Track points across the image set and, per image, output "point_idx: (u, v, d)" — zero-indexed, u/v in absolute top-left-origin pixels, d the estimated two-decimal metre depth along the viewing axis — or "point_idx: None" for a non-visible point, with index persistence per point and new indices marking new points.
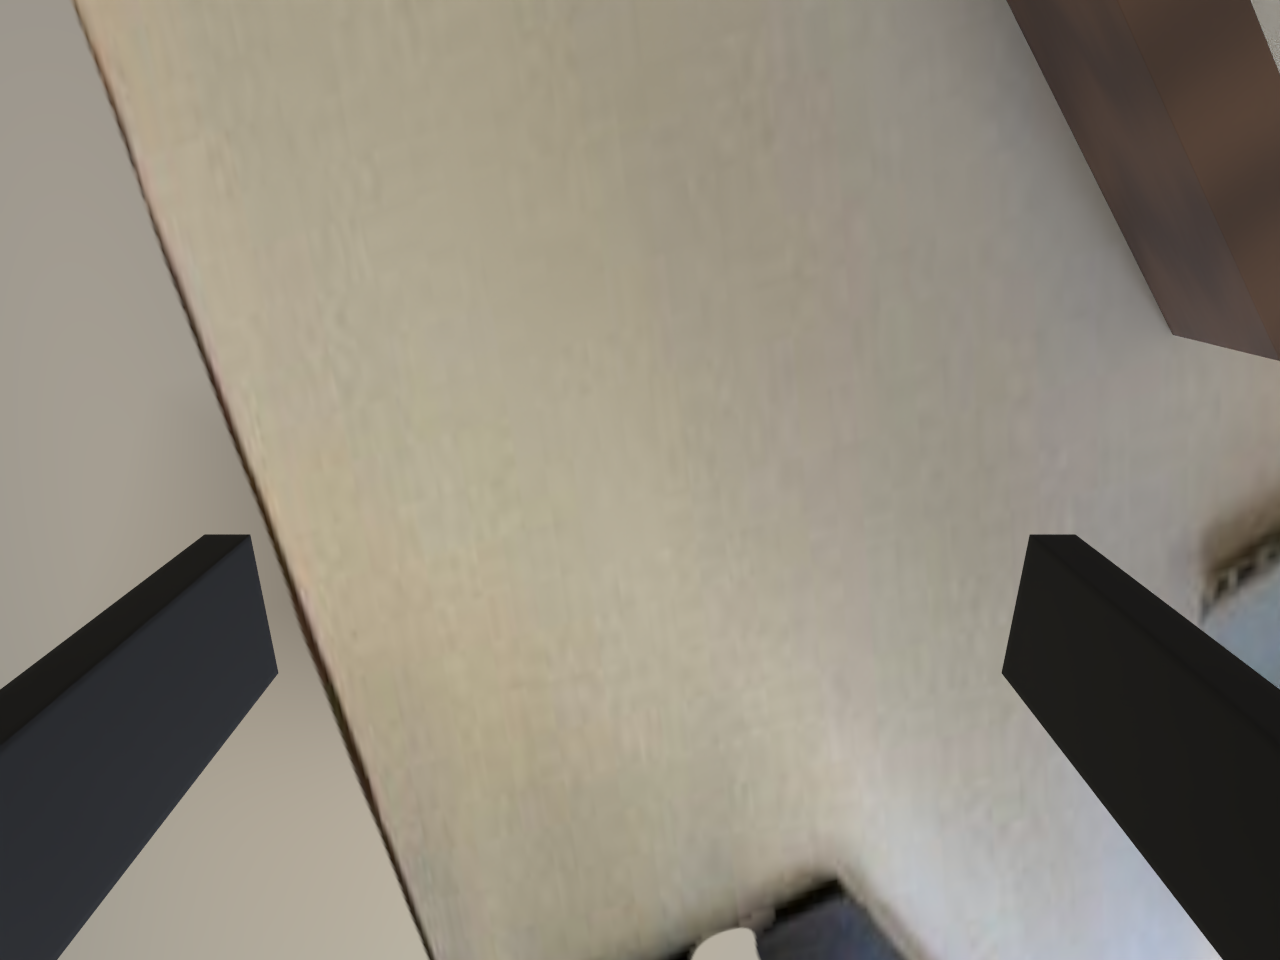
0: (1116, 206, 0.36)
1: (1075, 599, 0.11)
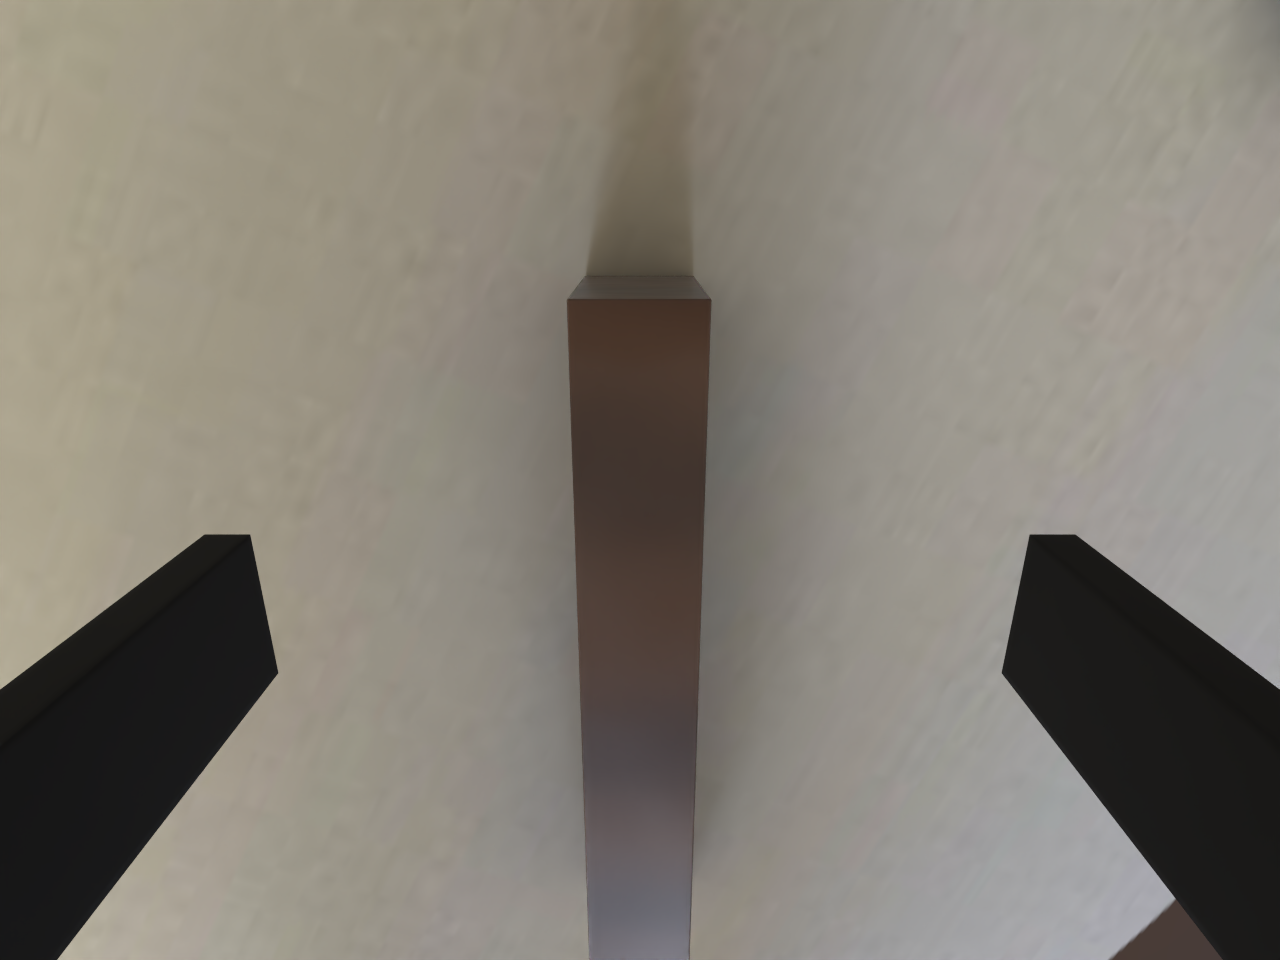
0: None
1: (1075, 599, 0.11)
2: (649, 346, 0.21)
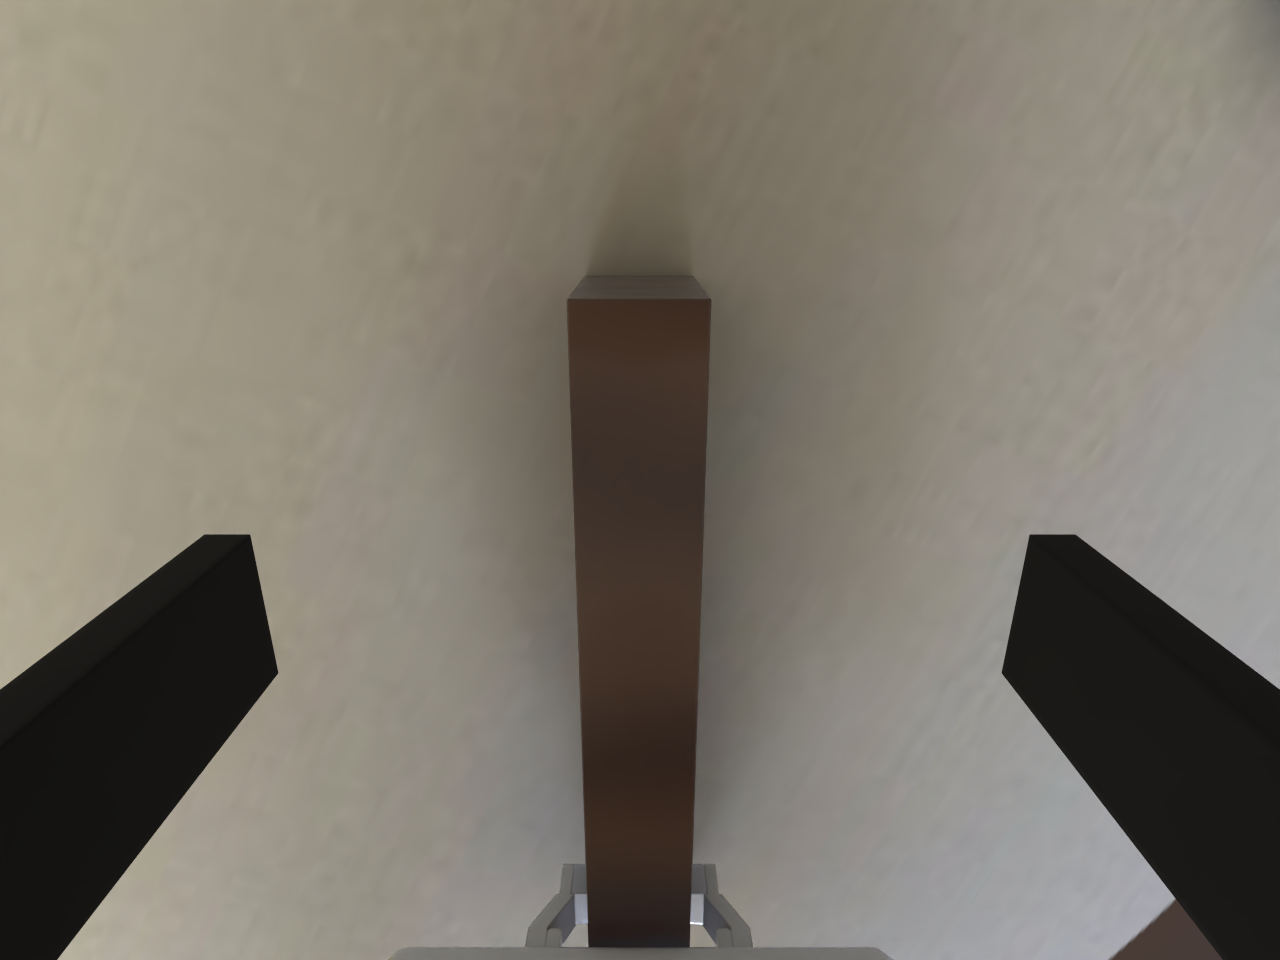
0: None
1: (1075, 599, 0.11)
2: (649, 346, 0.21)
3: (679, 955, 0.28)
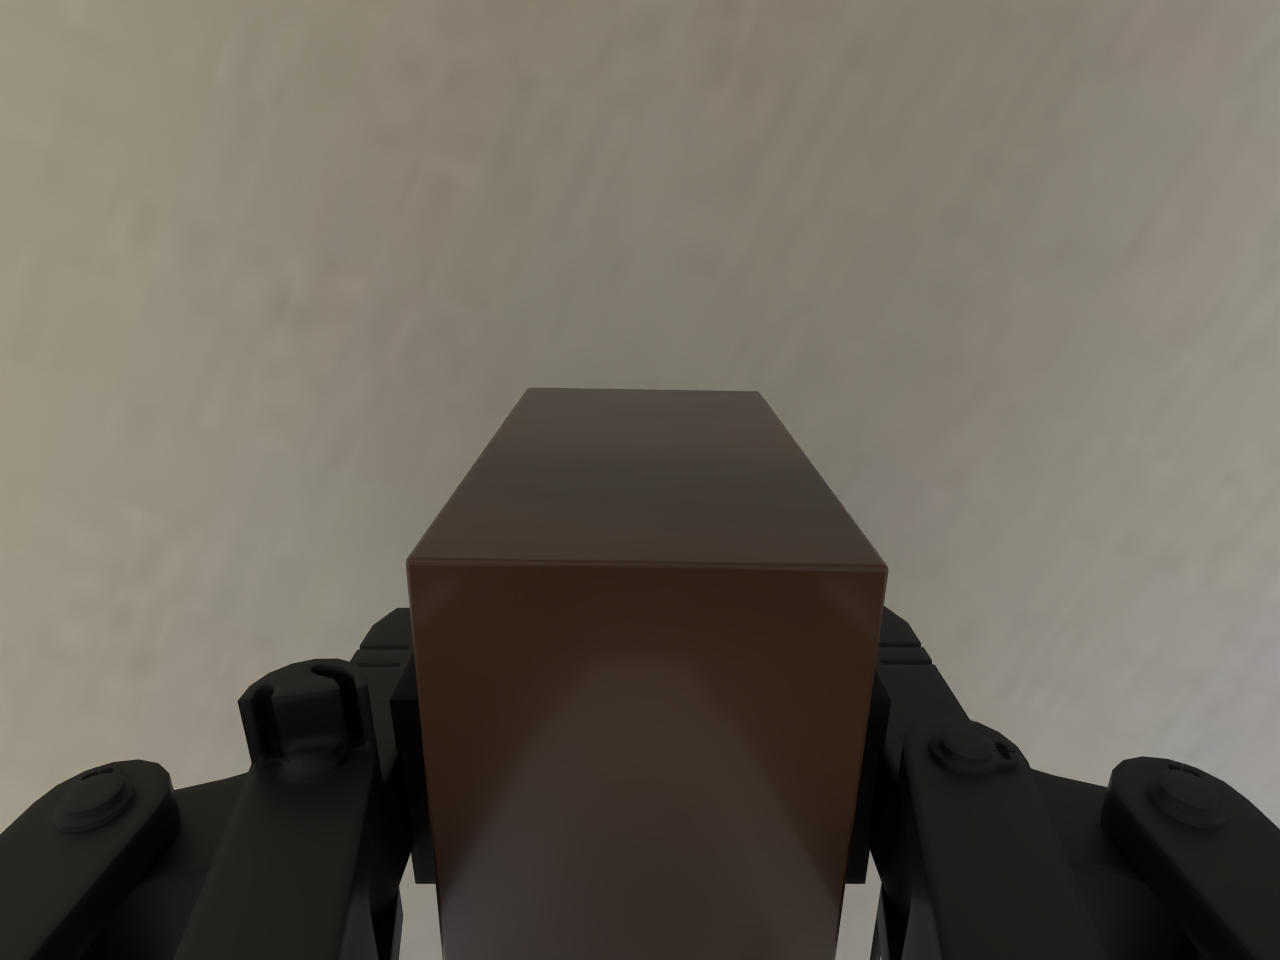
0: None
1: None
2: (679, 701, 0.06)
3: None
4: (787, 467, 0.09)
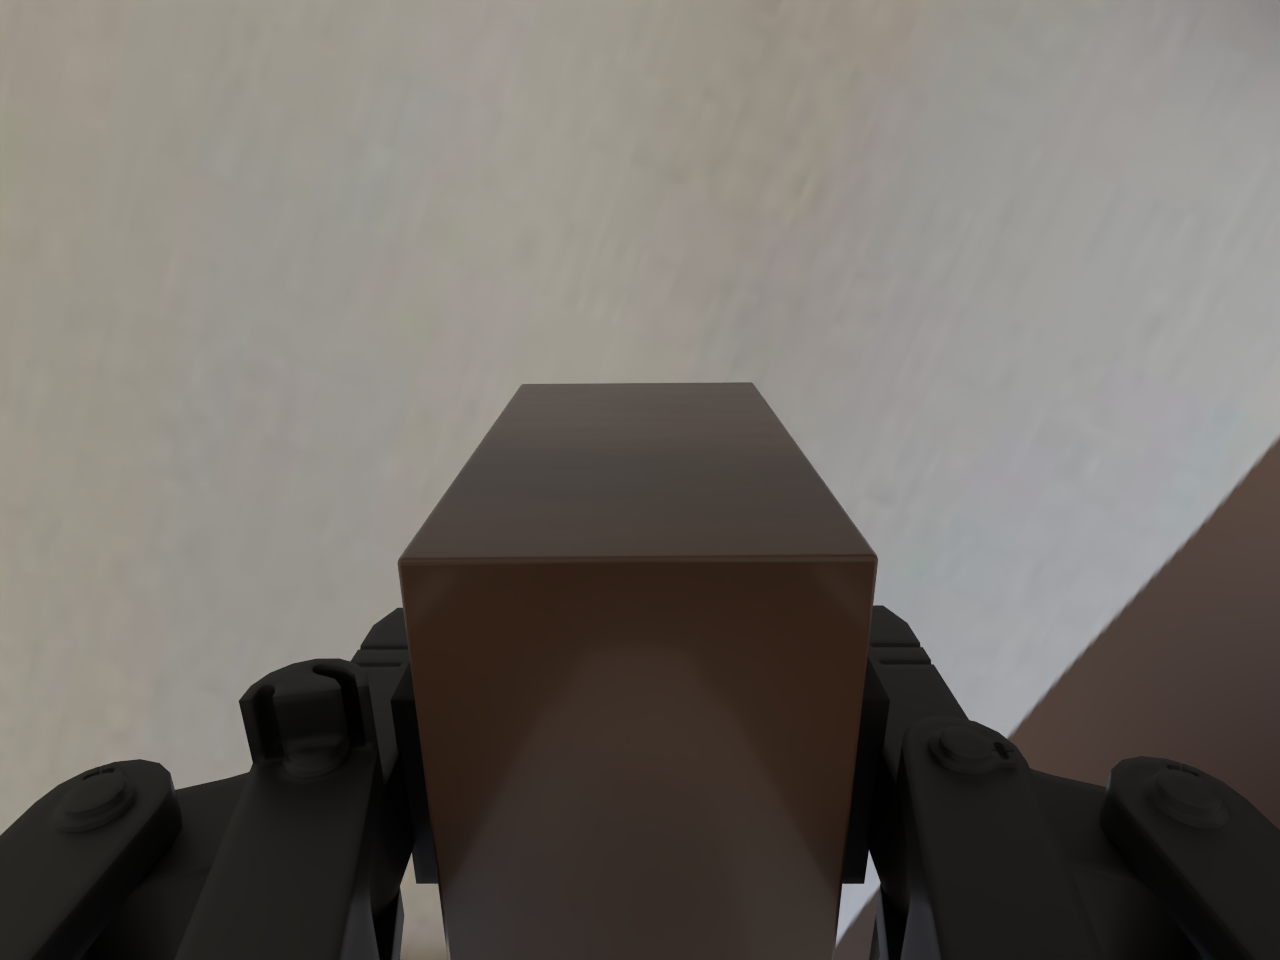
0: None
1: None
2: (672, 694, 0.07)
3: None
4: (779, 458, 0.09)
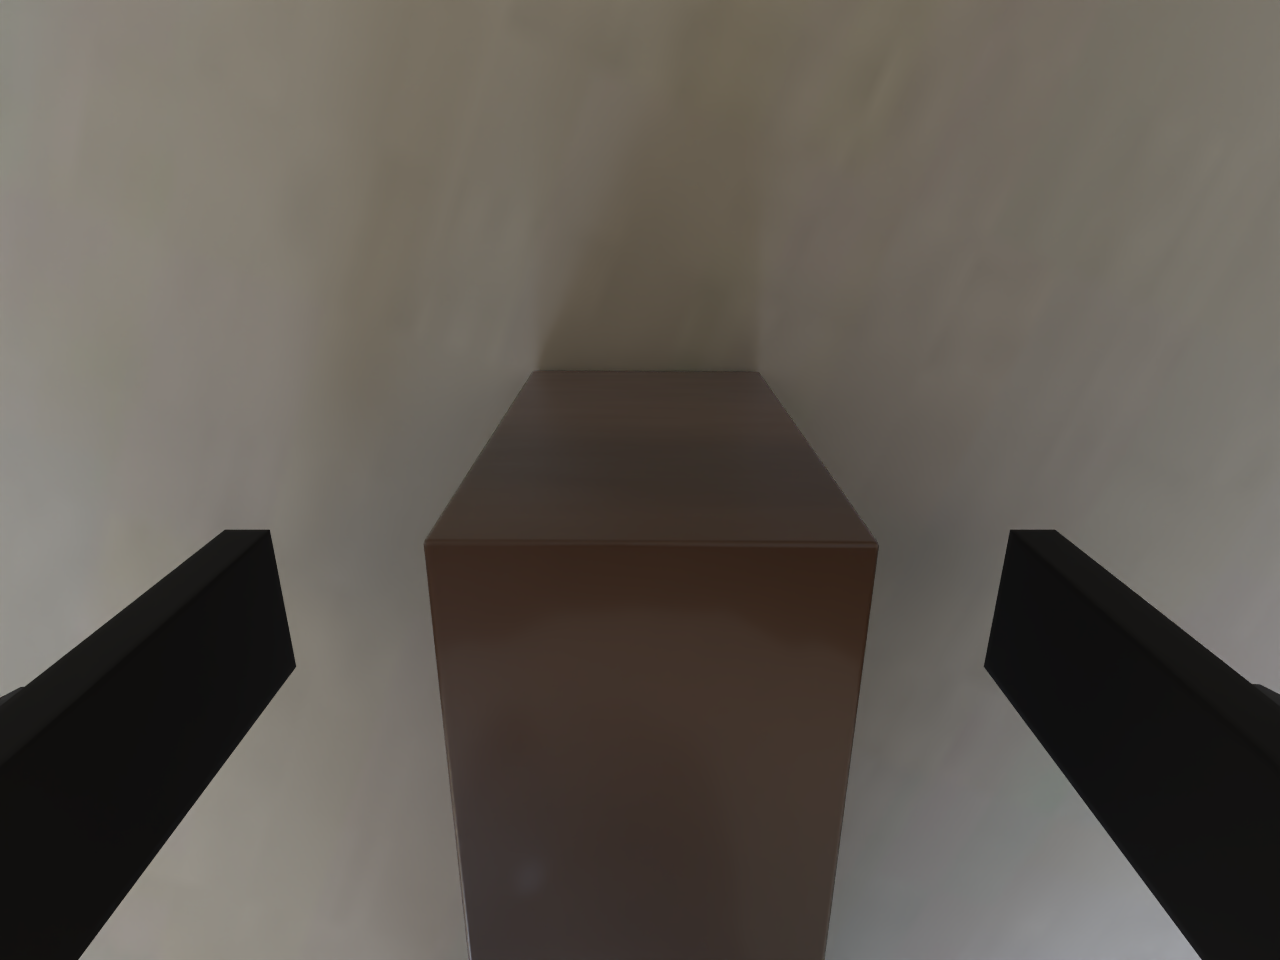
0: None
1: (1052, 593, 0.11)
2: (682, 670, 0.07)
3: None
4: (785, 447, 0.09)
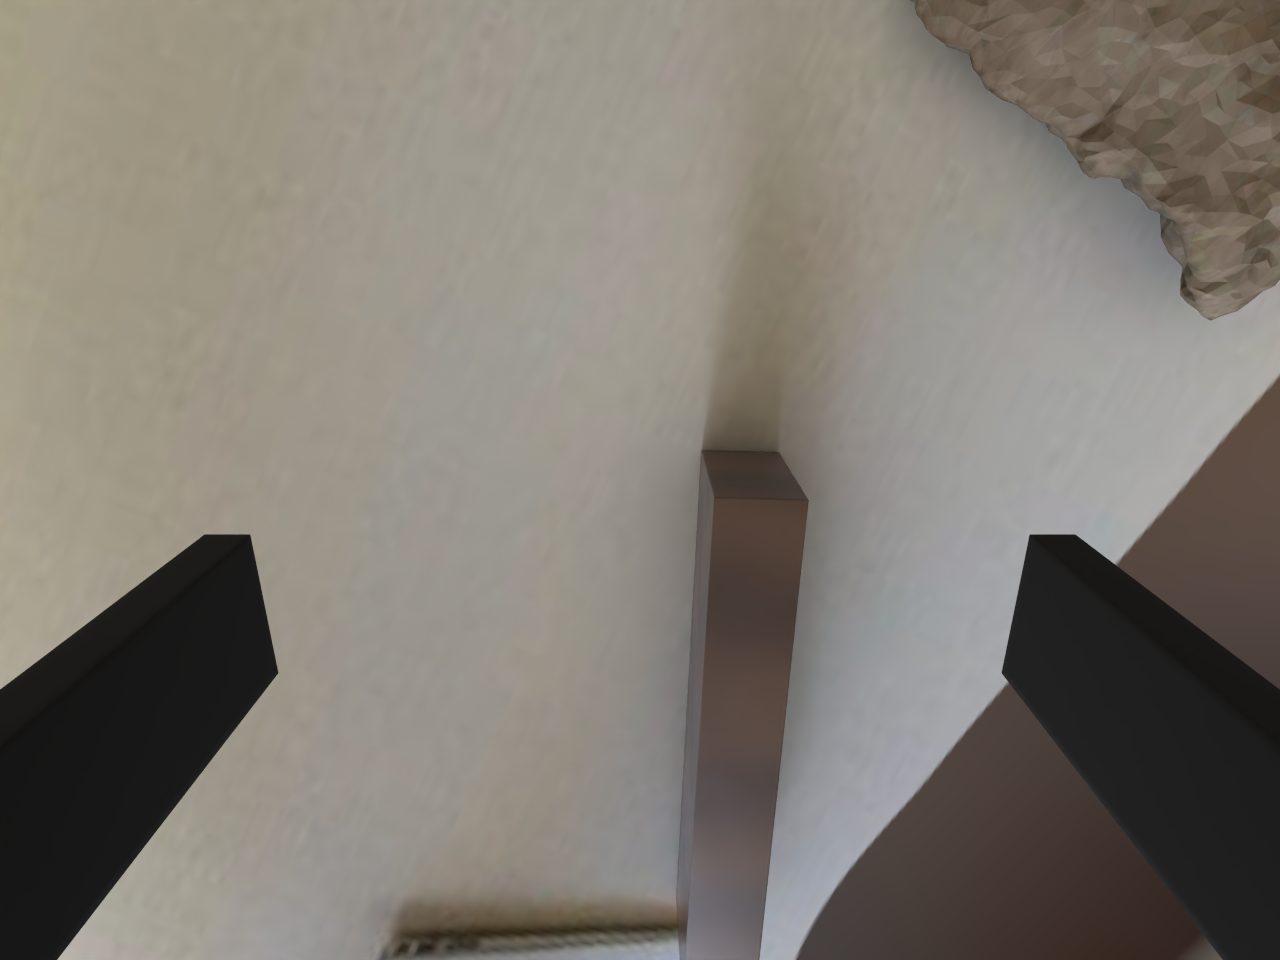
0: (682, 805, 0.44)
1: (1074, 599, 0.11)
2: (766, 527, 0.32)
3: None
4: (788, 479, 0.34)
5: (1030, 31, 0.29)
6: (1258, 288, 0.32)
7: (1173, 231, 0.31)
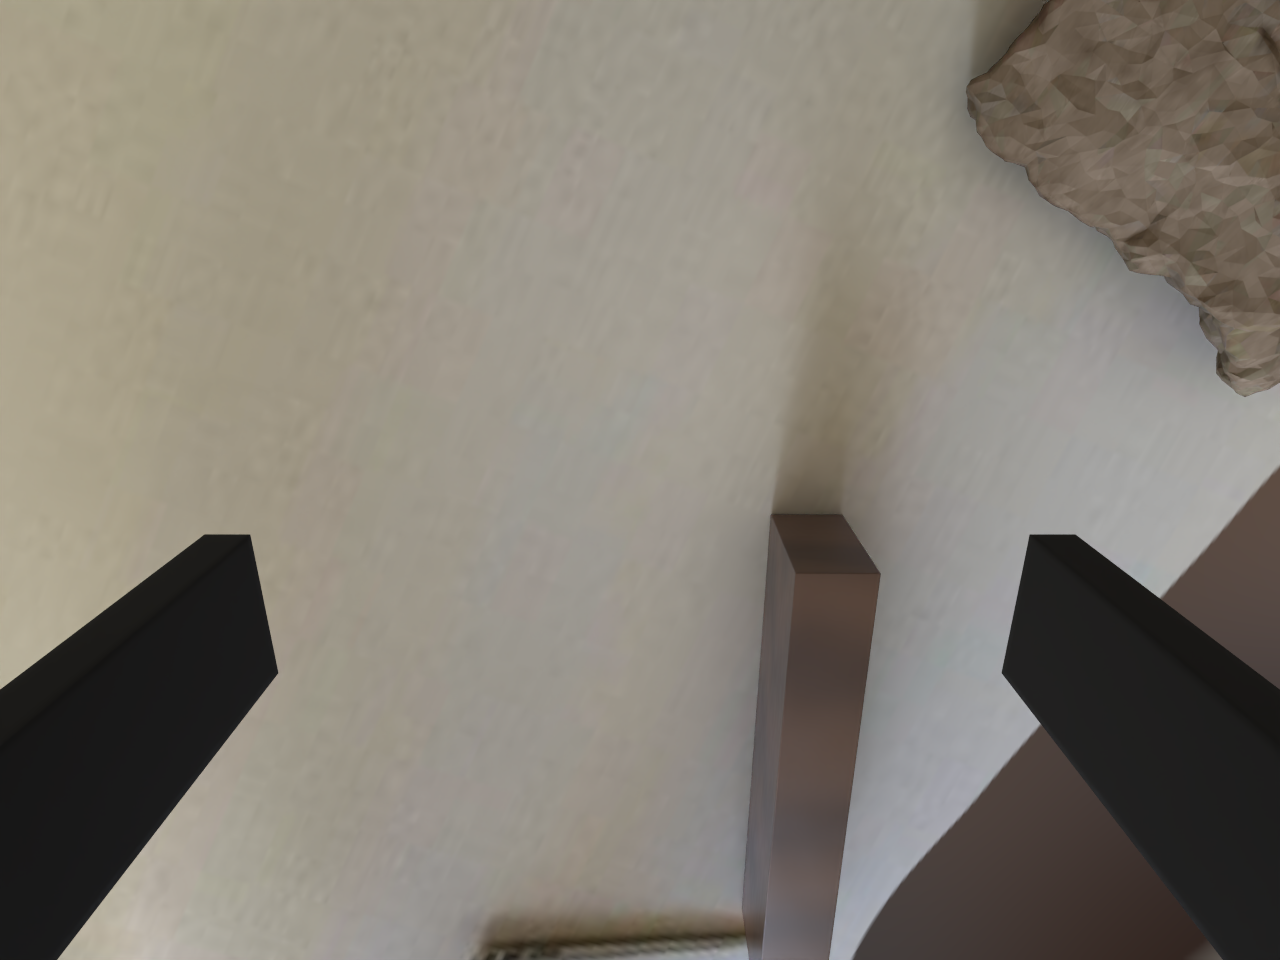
0: (749, 828, 0.48)
1: (1075, 599, 0.11)
2: (841, 598, 0.35)
3: None
4: (857, 548, 0.37)
5: (1083, 151, 0.32)
6: None
7: (1211, 322, 0.34)
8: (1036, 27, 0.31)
